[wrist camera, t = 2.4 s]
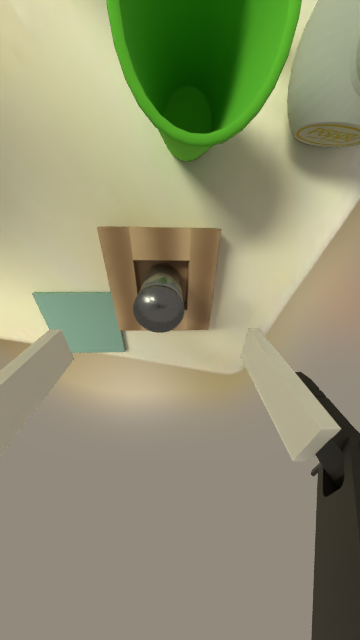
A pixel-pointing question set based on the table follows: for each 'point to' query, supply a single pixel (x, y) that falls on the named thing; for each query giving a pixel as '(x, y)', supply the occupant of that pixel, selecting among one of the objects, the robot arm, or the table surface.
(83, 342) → the mat
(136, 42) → the cup
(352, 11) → the air freshener
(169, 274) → the gray metal can
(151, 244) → the socket block
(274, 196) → the table surface
